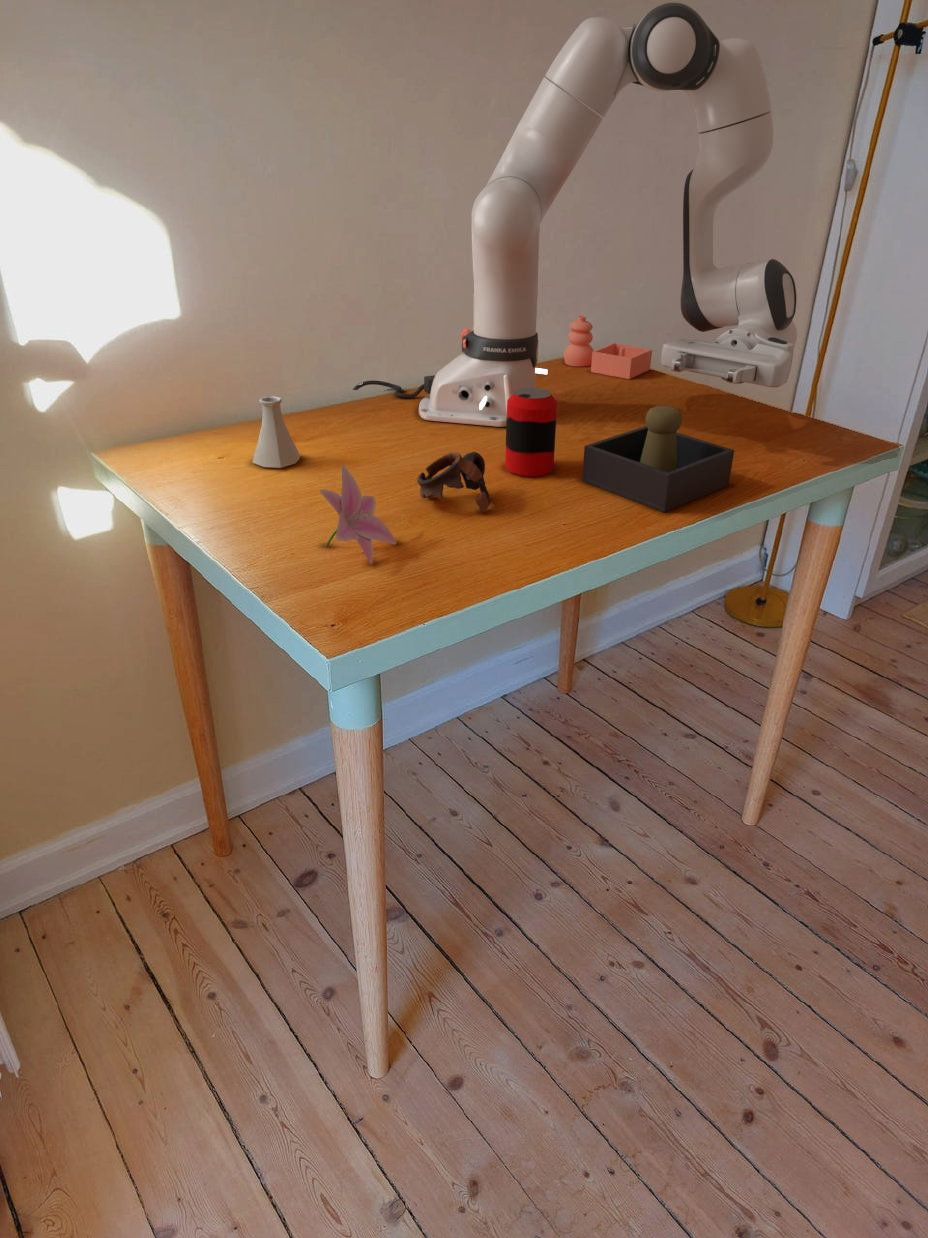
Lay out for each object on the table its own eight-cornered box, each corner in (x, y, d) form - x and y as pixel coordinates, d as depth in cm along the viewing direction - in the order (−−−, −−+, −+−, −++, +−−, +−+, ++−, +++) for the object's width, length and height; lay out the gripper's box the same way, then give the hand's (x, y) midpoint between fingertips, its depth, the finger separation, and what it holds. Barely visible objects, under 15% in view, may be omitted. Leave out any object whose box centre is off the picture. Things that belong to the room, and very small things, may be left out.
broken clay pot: (480, 525, 124) (450, 476, 120) (429, 538, 130) (399, 492, 126) (513, 475, 131) (485, 428, 128) (463, 490, 137) (435, 445, 134)
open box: (664, 512, 127) (669, 475, 124) (581, 481, 137) (584, 445, 134) (728, 485, 136) (734, 449, 133) (646, 457, 146) (650, 424, 143)
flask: (308, 457, 145) (303, 395, 140) (282, 472, 139) (276, 408, 134) (271, 450, 147) (265, 390, 142) (244, 464, 142) (236, 402, 137)
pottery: (650, 369, 192) (655, 322, 187) (629, 379, 186) (634, 330, 181) (576, 356, 202) (580, 310, 197) (554, 364, 195) (557, 318, 190)
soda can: (495, 470, 140) (497, 394, 134) (522, 456, 146) (525, 382, 140) (536, 481, 137) (539, 403, 130) (562, 467, 142) (567, 391, 136)
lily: (324, 586, 109) (360, 525, 105) (274, 523, 114) (306, 462, 109) (392, 580, 119) (427, 524, 114) (343, 522, 123) (375, 466, 119)
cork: (676, 488, 133) (686, 415, 127) (635, 485, 134) (643, 412, 128) (676, 473, 138) (686, 403, 132) (636, 470, 139) (644, 400, 133)
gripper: (685, 325, 152) (645, 340, 143) (804, 345, 142) (769, 362, 132) (680, 363, 156) (641, 379, 146) (796, 385, 145) (761, 404, 135)
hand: (702, 371), depth 139 cm, fingers open, 8 cm apart
